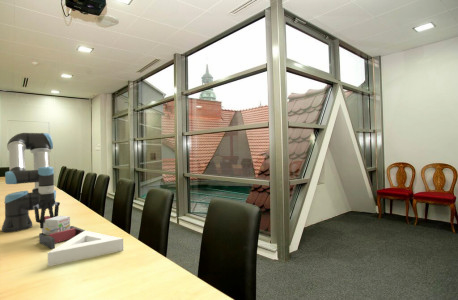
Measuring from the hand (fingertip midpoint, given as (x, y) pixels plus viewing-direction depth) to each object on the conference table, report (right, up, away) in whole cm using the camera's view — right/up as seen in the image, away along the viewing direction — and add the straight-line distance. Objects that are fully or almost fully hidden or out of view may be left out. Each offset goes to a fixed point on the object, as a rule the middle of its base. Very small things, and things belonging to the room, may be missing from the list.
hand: (47, 232), depth 151 cm
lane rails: (+17, -1, -12) cm, 21 cm away
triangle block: (+36, -1, -24) cm, 43 cm away
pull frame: (+8, -1, -5) cm, 9 cm away
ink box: (+12, -1, -9) cm, 15 cm away
